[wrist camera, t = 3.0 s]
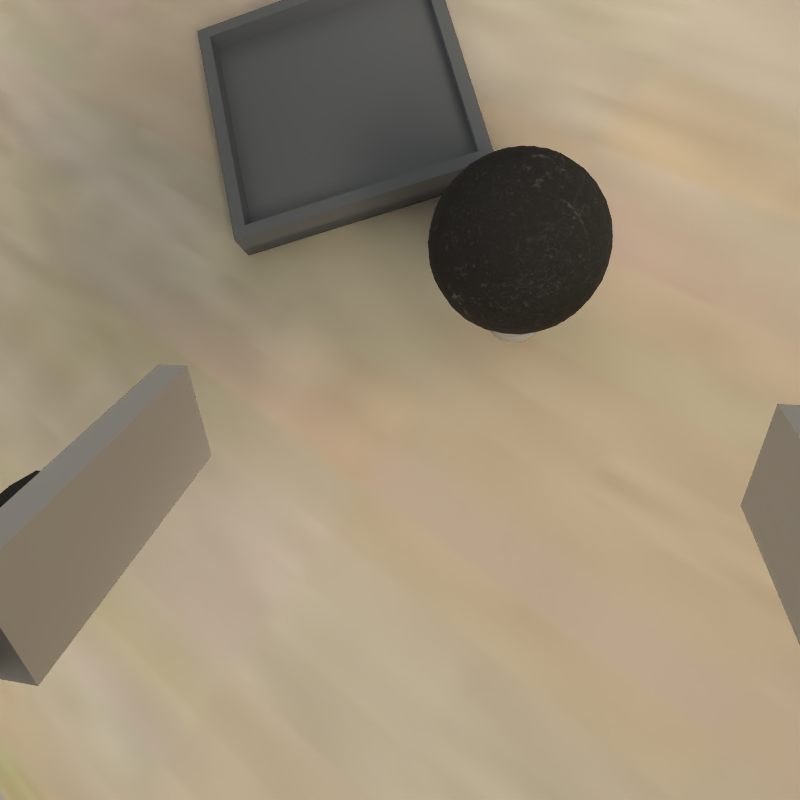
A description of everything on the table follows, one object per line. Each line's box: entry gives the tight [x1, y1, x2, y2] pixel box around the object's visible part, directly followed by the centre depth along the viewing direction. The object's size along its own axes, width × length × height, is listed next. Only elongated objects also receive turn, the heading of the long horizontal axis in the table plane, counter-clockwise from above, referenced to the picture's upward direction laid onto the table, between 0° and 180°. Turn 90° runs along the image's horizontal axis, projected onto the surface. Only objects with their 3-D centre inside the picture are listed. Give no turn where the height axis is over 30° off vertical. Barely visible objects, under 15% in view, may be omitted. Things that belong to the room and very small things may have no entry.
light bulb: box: [428, 146, 613, 342], centre depth 20 cm, size 6×6×10 cm
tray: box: [198, 0, 493, 255], centre depth 28 cm, size 12×12×2 cm
